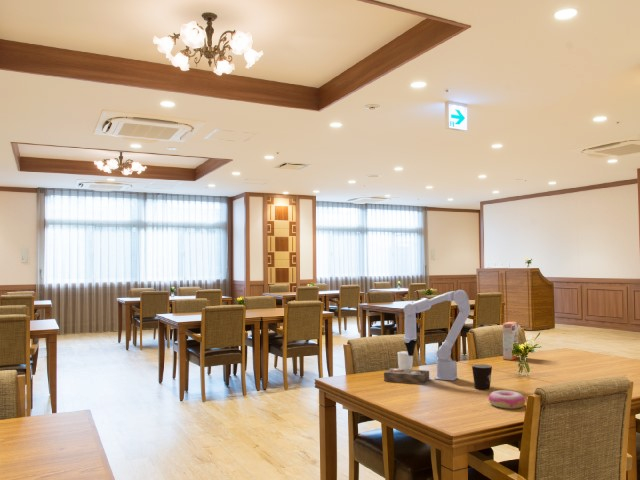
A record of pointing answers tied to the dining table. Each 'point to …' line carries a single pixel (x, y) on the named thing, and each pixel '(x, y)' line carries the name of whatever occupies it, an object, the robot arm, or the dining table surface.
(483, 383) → the coffee mug
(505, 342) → the cracker box
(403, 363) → the white cup
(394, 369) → the plunger
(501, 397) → the donut
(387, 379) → the housing
